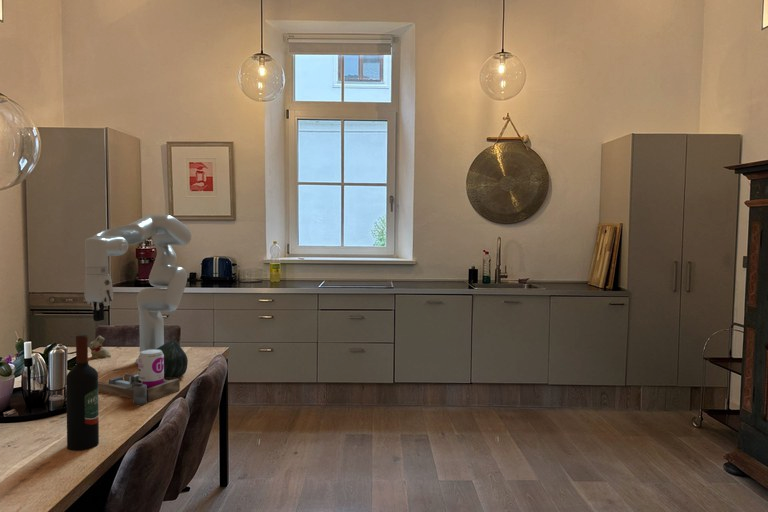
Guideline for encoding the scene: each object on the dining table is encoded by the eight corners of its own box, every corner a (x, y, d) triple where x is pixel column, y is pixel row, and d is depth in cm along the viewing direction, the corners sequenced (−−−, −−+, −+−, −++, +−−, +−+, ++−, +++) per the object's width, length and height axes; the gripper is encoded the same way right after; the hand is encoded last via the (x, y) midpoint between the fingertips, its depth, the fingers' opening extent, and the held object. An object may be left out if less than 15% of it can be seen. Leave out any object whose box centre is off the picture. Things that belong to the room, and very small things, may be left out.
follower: (125, 381, 205) (125, 365, 205) (154, 386, 200) (154, 370, 199) (102, 388, 196) (102, 372, 196) (132, 394, 190) (131, 377, 190)
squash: (133, 364, 210) (153, 338, 205) (164, 357, 224) (183, 332, 219) (152, 393, 206) (173, 367, 201) (183, 384, 219) (202, 359, 215)
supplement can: (169, 391, 195) (168, 350, 194) (150, 398, 188) (150, 355, 187) (152, 388, 198) (151, 347, 198) (133, 395, 191) (133, 352, 190)
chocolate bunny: (97, 355, 244) (97, 332, 243) (112, 356, 242) (112, 334, 241) (87, 358, 239) (87, 335, 238) (102, 359, 237) (102, 336, 236)
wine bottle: (75, 439, 152) (73, 332, 150) (103, 439, 153) (102, 332, 151) (61, 451, 145) (59, 338, 143) (91, 450, 145) (90, 338, 143)
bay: (127, 380, 208) (127, 357, 207) (182, 390, 197) (182, 366, 197) (82, 394, 190) (82, 369, 190) (139, 406, 180) (139, 379, 179)
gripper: (120, 271, 202) (122, 320, 204) (92, 268, 208) (93, 316, 210) (102, 273, 195) (104, 324, 197) (73, 270, 201) (75, 320, 203)
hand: (98, 320), depth 203 cm, fingers closed
